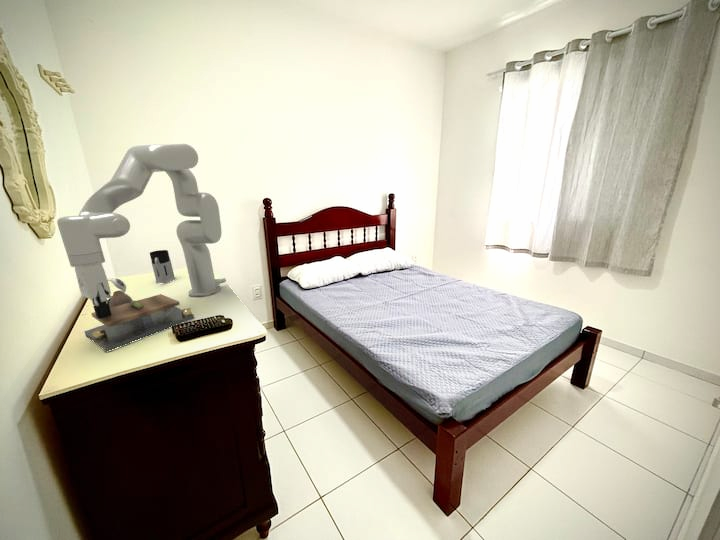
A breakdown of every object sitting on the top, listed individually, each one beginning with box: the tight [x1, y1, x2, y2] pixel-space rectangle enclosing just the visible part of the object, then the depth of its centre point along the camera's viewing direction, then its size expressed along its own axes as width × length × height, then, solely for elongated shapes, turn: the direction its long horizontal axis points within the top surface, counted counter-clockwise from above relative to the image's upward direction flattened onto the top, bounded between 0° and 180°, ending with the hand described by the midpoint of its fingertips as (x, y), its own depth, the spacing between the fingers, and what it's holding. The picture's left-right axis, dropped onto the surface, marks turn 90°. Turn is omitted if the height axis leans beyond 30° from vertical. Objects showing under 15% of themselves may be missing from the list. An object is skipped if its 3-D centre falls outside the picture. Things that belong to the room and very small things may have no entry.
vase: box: [109, 289, 134, 308], centre depth 107 cm, size 7×7×9 cm
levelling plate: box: [91, 293, 181, 327], centre depth 95 cm, size 20×14×3 cm
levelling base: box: [83, 306, 195, 352], centre depth 97 cm, size 25×19×6 cm
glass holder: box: [149, 249, 177, 284], centre depth 139 cm, size 9×14×15 cm, turn 24°
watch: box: [106, 277, 127, 307], centre depth 115 cm, size 6×8×11 cm
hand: (104, 316), depth 88 cm, fingers closed
